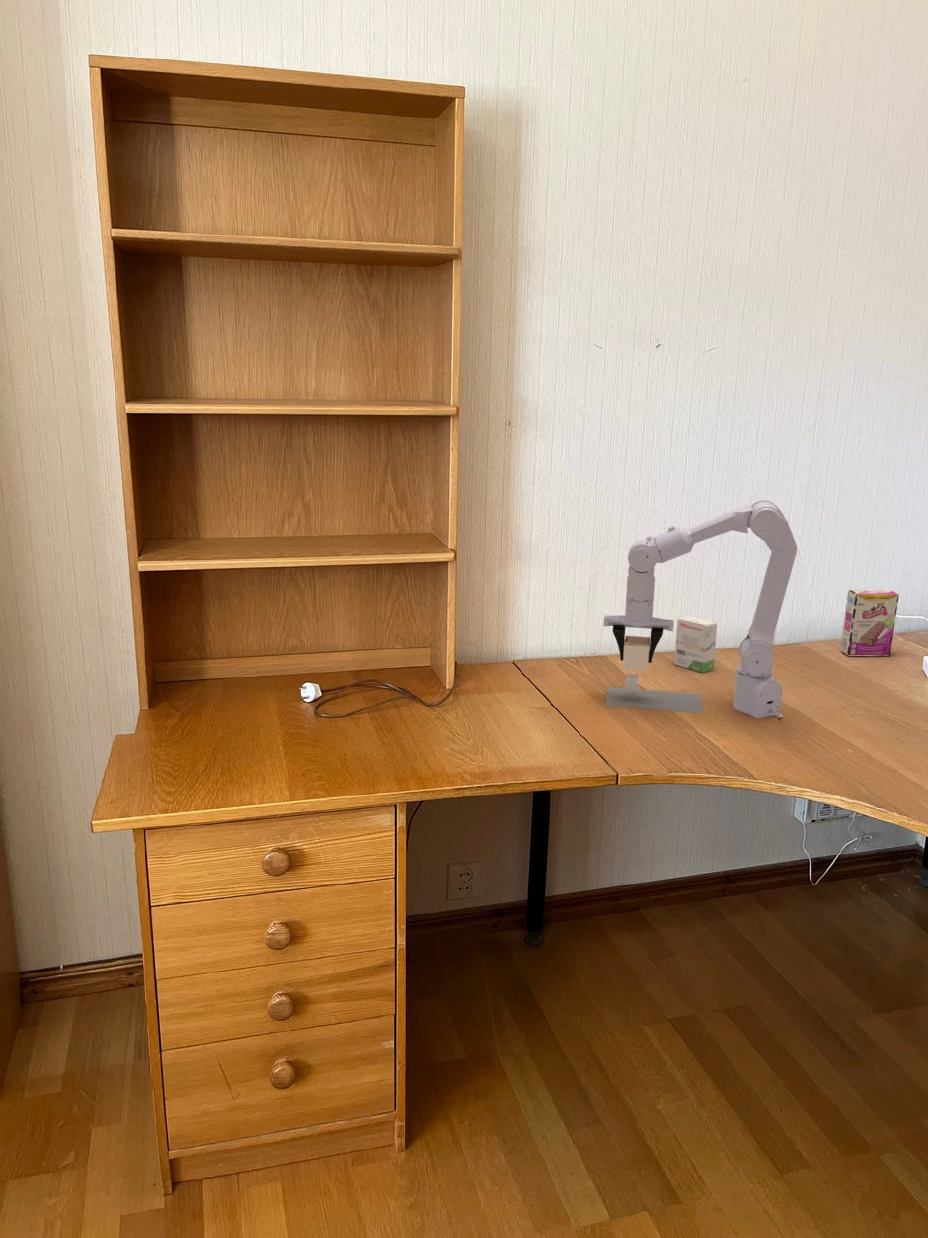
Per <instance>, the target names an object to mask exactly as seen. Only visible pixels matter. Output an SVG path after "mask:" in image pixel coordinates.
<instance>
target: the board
mask: <svg viewBox="0 0 928 1238" xmlns="http://www.w3.org/2000/svg"><path fill="white" fill-rule="evenodd" d="M608 688H609V689H608V693H607V697H606V701H605V706H610V707H619V708H620V707H622V708H634V709H635V708H636V709H645V710H646V709H647V710H656V711H657V710H658V711H670V712H679V713H680V712H681V713H692V714H703V695H702V694H701V693H691V692H689V693H688V692H676V691H665V690H664V691H663V690H651V689H639V688H638V692H637V700H629V699H624V697H625V687H614V686H609V687H608Z"/></svg>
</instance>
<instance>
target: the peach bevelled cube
mask: <svg viewBox="0 0 928 1238" xmlns="http://www.w3.org/2000/svg"><path fill="white" fill-rule="evenodd" d="M650 640H651V636H650V637H649V636H635V635H625V641H624V656H623V661H622V670H624V671H639V672H649V671H648V670H649V664H650V663H648V661H649V651H650Z"/></svg>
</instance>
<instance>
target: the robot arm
mask: <svg viewBox="0 0 928 1238" xmlns="http://www.w3.org/2000/svg"><path fill="white" fill-rule="evenodd" d="M748 528H749V529H750V530H751V532H752V533H753V535H754V536H756V537H758V538H759V539H760V540H762V541H763V542H765V545H766V546H767V547H768V549H769V550H770V555H769V560H768V564H767V566H766V570H765V573H764V578H763V582H762V586H761V588H760V589H761V590H760V592H759V595H758V600H757V603H756V607H755V611H754V615H753V617H752V621H751V625H750V627H749V628H748V631H747V635H746V636H745V638H743V640H741V642H740V644H739V647H738V653H739V655H740V664H738V665H737V667H736V671H735V672H736V673H735V685H734V694H733V706H732V707H733V708H734V709H735V710H736V711H738V712H741V713H744V714H747V715H749V716H752V717H753V718H755V719H762V718H769V717H773V716H776V717H777V719H780V718H783V716H784V715H783V714H782V713H781V707H782V697H783V687H782V684H781V683H780V682H779V681H778V680H777V679H775V677H774V675H773V665H774V658H773V653H772V652H773V651H772V650H773V647H774V641H775V632H776V627H777V626H778V625H777V624H778V621H779V617H780V613H781V612H782V611H781V610H782V607H783V604H784V599H785V597H786V592H787V589H788V585H789V581H790V578H791V574H792V570H793V567H794V564H795V561H796V557H797V553H798V545H797V542H796V540H795V537H794V535H793V532H792V530H791V527H790V523H789V522H788V520H787V518H786V517H785V514H784V513H783V512H782V510H780V509H779V507H778V506H777V505H776V504H775V503H774V502H772V501H770V500H758V501H756V502H754V503H752V504H750V503H748V504H745V505H742V506H739V507H736V508H734V509H732V510H728V511H727V512H725V513H723V514H719V515H717V516H715V517H713V518H711V519H709V520H707V521H704V522H702V523H700V524H698V525H695V526H693V527H690V528H686V527H684V526H681V525H679V526H677V527H675V525H671V526H669V527H667V531H665V532H662V533H660V534H657V535H655V536H651V535H648V536H646V538H645V539H646V540H638V541H636V542H634V543H633V545H631V546H630V549H629V552H628V556H627V561H628V564H629V566H628V569H627V572H628V576H627V577H626V578H627V579H626V594H625V595H626V596H625V597H626V598H625V610H624V611H625V613H624V615H609V614H608V615H606V614H605V615H604V617H603V627H609V626H610V627H612V633H613V636H614V638H615V640H616V643H617V647H618V651H619V658H620V660H619V661H622V662H623V656H624V641H625V637H626V628H635V629H649V630H650V651H649V661H648V663H649V664H652V662H653V658H654V654H655V652H656V651H655V650H656V648H657V646H658V645H659V642H660V641H661V639H662V637H663V635H664V630H665V631H668V632H674V625H675V624H674V622H675V620H674V619H666V618H661V617H653V615H654V602H655V599H654V598H655V587H656V584H655V583H656V577H655V567H656V565H657V563H658V564H663V563H666V562H668V561H670V560H674V559H676V558H678V557H681V556H684V555H687V554H688V553H691V551H692V550H693V548H694V546H695V544H697V543H701V542H703V541H706V540H709V539H712V538H714V537H717V536H720V535H723V534H726V533H728V532H732V531H734V532H738V533H743V534H748V531H749V530H748Z"/></svg>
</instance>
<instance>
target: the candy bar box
mask: <svg viewBox="0 0 928 1238" xmlns="http://www.w3.org/2000/svg"><path fill="white" fill-rule="evenodd" d="M899 595H900V594H899V593H897V592H894V590H890V589H848V590H847V598H846V604H845V611H844V620H843V621H844V622H843V629H842V636H841V642H840V649H841V650H842V651H844V652H845V653H846V654H847V655H884V654H885V655H890V656H891V650H892V644H893V643H892V642H893V636H894V631H895V622H896V617H897V616H896V615H897V610H898V603H899V598H900V597H899Z"/></svg>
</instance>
